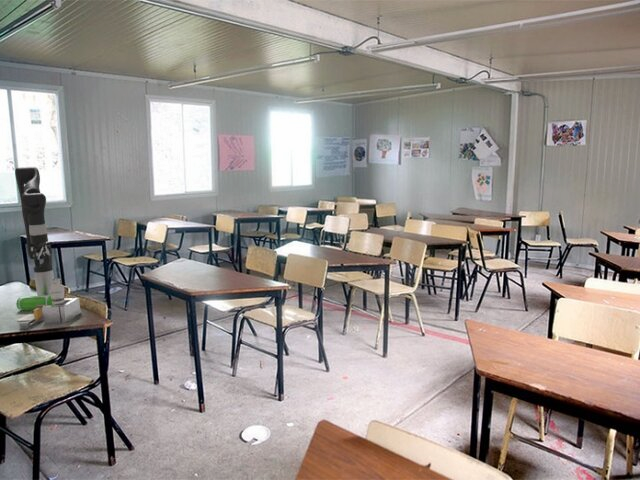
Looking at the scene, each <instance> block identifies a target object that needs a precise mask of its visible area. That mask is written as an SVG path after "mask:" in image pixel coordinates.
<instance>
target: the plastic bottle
mask: <svg viewBox="0 0 640 480" xmlns="http://www.w3.org/2000/svg"><path fill="white" fill-rule="evenodd" d="M51 283H52V286H51V288H50V295H51V298H52V304H53V305H64V304H65V300H64V298H65V287H64V285H63V284H62V283H61V279H60V278H59V277H58V278H54V279H52V280H51Z"/></svg>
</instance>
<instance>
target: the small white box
mask: <svg viewBox="0 0 640 480" xmlns="http://www.w3.org/2000/svg"><path fill="white" fill-rule="evenodd" d="M64 300H65V304H64V305H51V306H44V307H42V311H43V317H41V318H40V319H38V320H36V321H35V318H34V319H32V320H30V321H25V322H18V323H19V324H18V325H19V330H29V329H32V328H33V327H35V326H36V325H38V324H40V323H42V322H44V323H43V324H60V323H61V324H64V323H65V324H66V323H68V322H69V321H71V320H72V319H74V318H75V317H77V316H79V315H80V314H81V313H82V311H81V304H80V298H79V297H75V298H74V297H70V298H69V297H68V298H67V297H64ZM70 319H71V320H70ZM67 321H68V322H67Z"/></svg>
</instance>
